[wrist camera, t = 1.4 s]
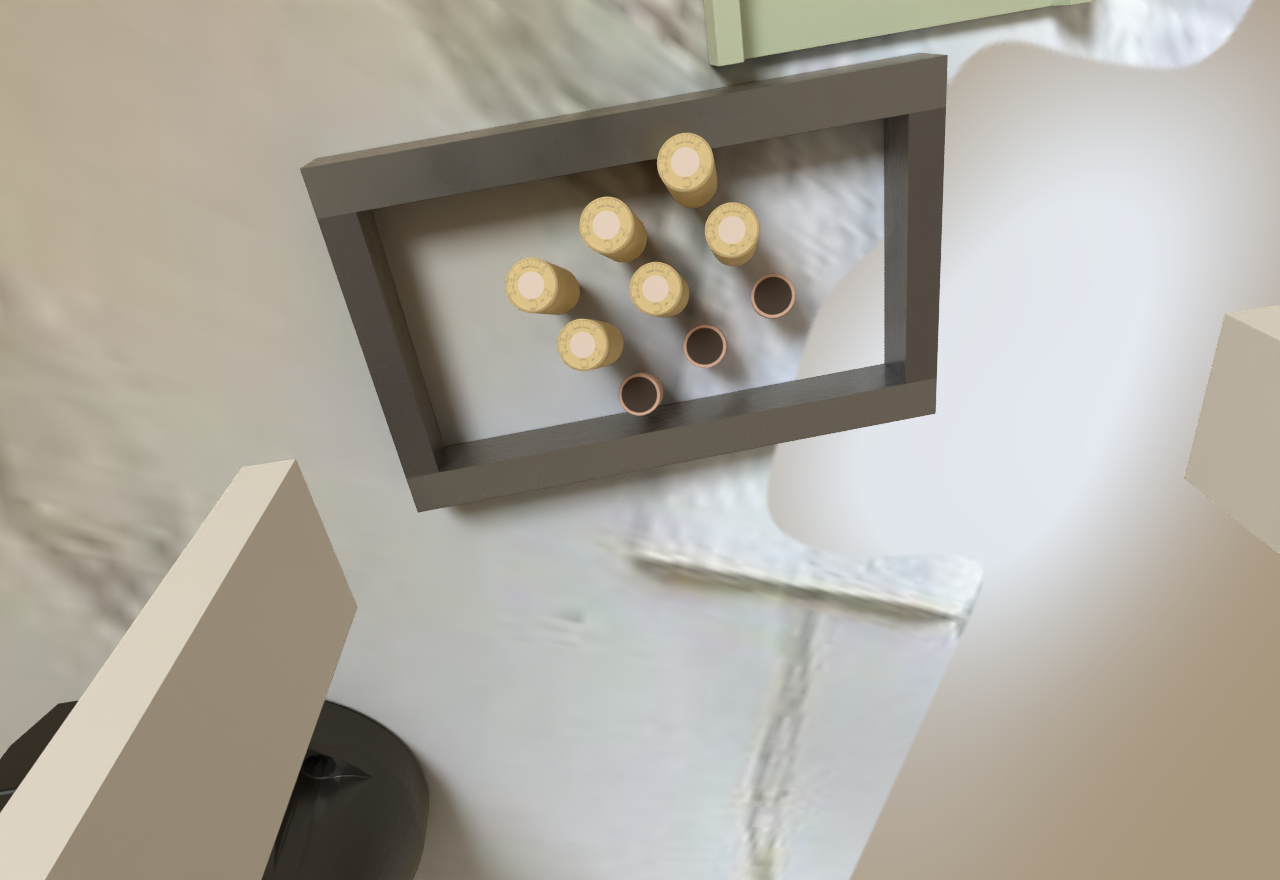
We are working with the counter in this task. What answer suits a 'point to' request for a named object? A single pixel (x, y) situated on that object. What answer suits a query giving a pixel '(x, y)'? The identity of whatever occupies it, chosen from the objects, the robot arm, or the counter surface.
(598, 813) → the counter surface
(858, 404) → the gray rectangular frame
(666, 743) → the counter surface
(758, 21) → the tray pad
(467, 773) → the counter surface
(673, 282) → the ammunition
